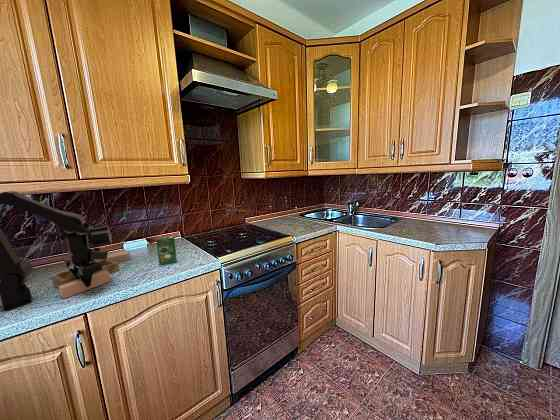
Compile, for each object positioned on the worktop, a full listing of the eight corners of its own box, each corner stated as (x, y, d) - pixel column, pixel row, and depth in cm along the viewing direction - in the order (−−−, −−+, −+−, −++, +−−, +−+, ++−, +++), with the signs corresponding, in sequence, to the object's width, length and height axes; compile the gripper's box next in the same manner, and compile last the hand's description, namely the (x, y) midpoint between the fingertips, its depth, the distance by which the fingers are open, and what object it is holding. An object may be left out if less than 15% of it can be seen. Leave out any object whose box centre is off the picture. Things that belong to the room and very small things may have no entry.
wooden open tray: (63, 290, 91) (61, 281, 90) (53, 284, 96) (50, 275, 96) (119, 270, 108) (118, 262, 107) (107, 266, 113) (106, 258, 113)
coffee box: (177, 260, 117) (174, 235, 115) (177, 262, 114) (173, 237, 112) (160, 263, 114) (156, 237, 112) (159, 265, 112) (155, 239, 110)
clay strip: (64, 298, 84) (61, 288, 83) (60, 296, 86) (58, 286, 85) (110, 280, 97) (109, 271, 96) (106, 279, 98) (105, 270, 98)
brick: (130, 256, 127) (128, 248, 126) (131, 260, 121) (130, 252, 120) (91, 264, 118) (89, 256, 117) (90, 270, 111) (89, 260, 110)
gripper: (114, 244, 90) (120, 281, 93) (93, 238, 100) (99, 272, 102) (78, 253, 81) (87, 294, 84) (59, 246, 90) (67, 283, 93)
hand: (86, 285), depth 91 cm, fingers closed on clay strip, 3 cm apart
